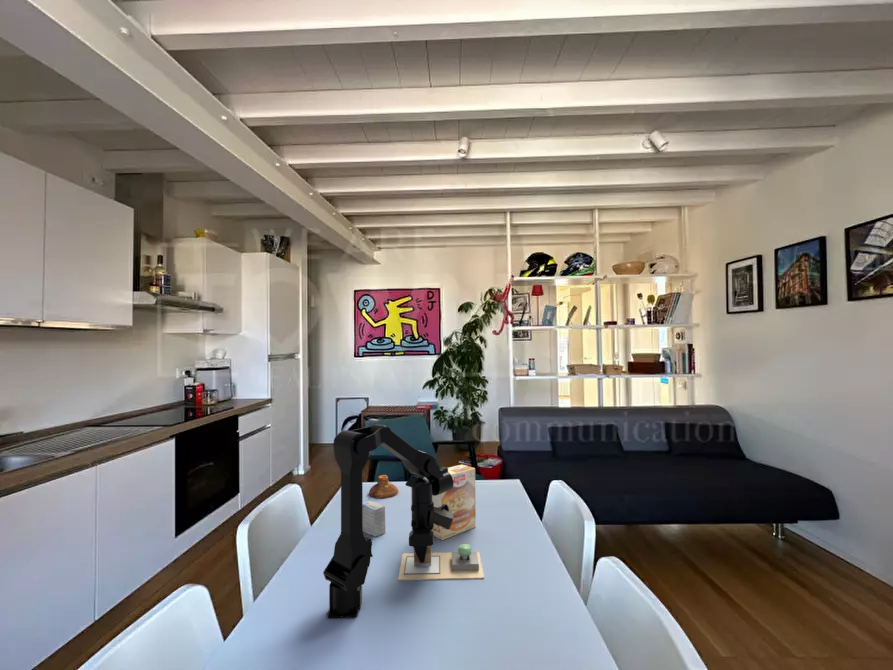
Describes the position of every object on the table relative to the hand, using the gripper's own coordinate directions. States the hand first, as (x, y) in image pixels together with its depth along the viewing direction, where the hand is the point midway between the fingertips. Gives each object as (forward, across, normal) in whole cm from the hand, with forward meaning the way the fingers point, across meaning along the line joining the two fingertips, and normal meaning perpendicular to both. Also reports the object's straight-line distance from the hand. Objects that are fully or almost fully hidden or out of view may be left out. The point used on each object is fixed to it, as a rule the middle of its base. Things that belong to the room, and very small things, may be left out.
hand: (422, 558), depth 118 cm
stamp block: (+1, 0, 0) cm, 1 cm away
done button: (+1, 0, -11) cm, 12 cm away
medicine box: (+2, +23, +17) cm, 29 cm away
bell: (+3, +60, +18) cm, 63 cm away
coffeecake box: (+2, +23, -9) cm, 25 cm away
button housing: (+2, 0, -12) cm, 12 cm away
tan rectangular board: (+2, 0, -5) cm, 5 cm away
